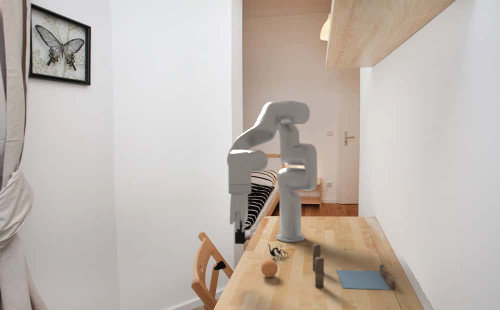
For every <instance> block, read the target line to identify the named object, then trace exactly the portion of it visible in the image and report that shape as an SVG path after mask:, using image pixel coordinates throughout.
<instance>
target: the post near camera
mask: <svg viewBox="0 0 500 310" xmlns="http://www.w3.org/2000/svg"><path fill="white" fill-rule="evenodd" d="M324 262H325V257H322V256H320V257H316V258H315V272H314V275H315V276H314V279H315V281H314V282H315V283H314V286H315V288H316V289H323V288H324V286H325V284H324V282H325V278H324V277H325V269H324V267H325V266H324V265H325V263H324Z"/></svg>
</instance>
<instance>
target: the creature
mask: <svg viewBox="0 0 500 310" xmlns="http://www.w3.org/2000/svg"><path fill="white" fill-rule="evenodd" d="M267 245H268V248H269V254H270V255H271V256H272V257H273V258H274V257H276V260H278V259H280V257H279V256H281V258H282V259H285V260H286V258H285V257H284V256H283V254H282V252H283V253H284V254H286V255H289V254H288V252H286V251H285V250H283V249H281V248H280V247H282V246H283V244H282V245H280V247H279V246H277V245H276V247H273V248H272V249H271V245H270V244H268V243H267ZM279 249H280V250H279ZM276 253H277V254H278V255H277V254H276Z"/></svg>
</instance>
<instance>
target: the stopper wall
mask: <svg viewBox="0 0 500 310" xmlns="http://www.w3.org/2000/svg"><path fill="white" fill-rule="evenodd" d="M379 266H380V267H379V273H380V274H381V276H382V278H383V279H384V281H385V283H386V284H387V286H388V287H389V289H390V291H395V290H396V282H395V280H394V278H393V277H392V276H391V273H390V272H388V269H387V268H386V267H385V265H384V264H379Z"/></svg>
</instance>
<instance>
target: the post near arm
mask: <svg viewBox="0 0 500 310" xmlns="http://www.w3.org/2000/svg"><path fill="white" fill-rule="evenodd" d="M316 257H321V244H319V243H314V244H312V272H314V273H315V258H316Z"/></svg>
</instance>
